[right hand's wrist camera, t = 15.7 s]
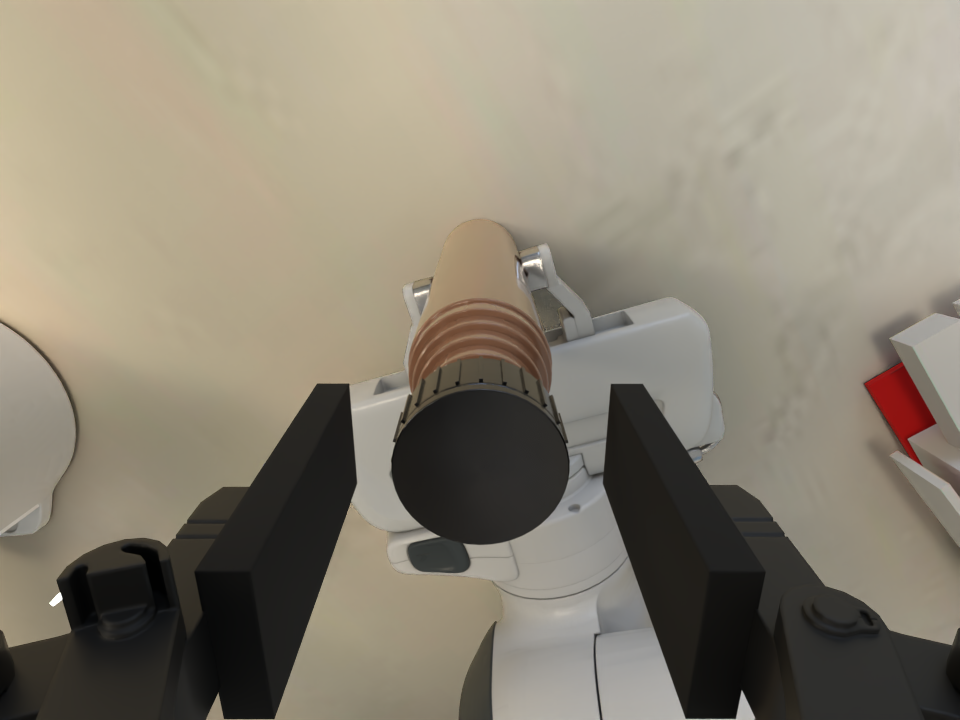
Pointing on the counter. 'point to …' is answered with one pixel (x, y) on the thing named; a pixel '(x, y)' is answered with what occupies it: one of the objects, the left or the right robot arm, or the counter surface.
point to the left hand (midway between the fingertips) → (473, 265)
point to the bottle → (480, 307)
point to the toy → (927, 412)
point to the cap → (480, 452)
